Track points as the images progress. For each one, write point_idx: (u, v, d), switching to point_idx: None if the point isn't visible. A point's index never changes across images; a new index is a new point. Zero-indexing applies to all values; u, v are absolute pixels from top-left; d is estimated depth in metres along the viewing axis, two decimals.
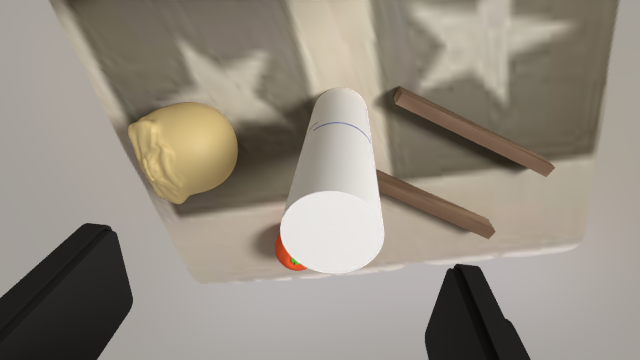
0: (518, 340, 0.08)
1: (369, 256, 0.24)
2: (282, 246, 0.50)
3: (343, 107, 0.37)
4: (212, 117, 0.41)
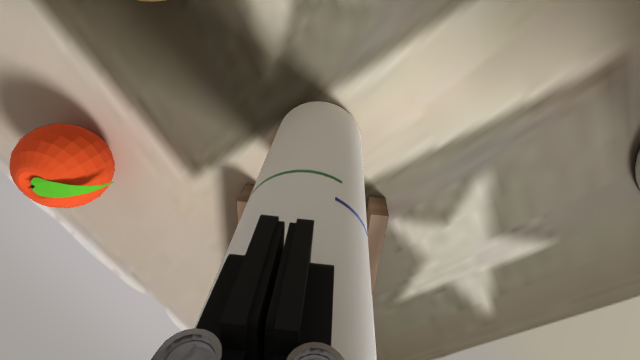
0: (333, 281, 0.09)
1: None
2: (47, 150, 0.25)
3: (363, 186, 0.22)
4: None
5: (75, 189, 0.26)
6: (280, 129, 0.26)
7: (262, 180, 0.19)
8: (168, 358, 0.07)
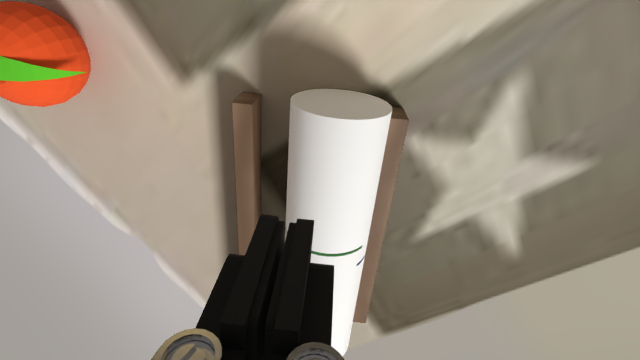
0: (333, 281, 0.09)
1: None
2: (5, 21, 0.21)
3: None
4: None
5: (39, 71, 0.22)
6: (310, 157, 0.23)
7: None
8: (168, 358, 0.07)
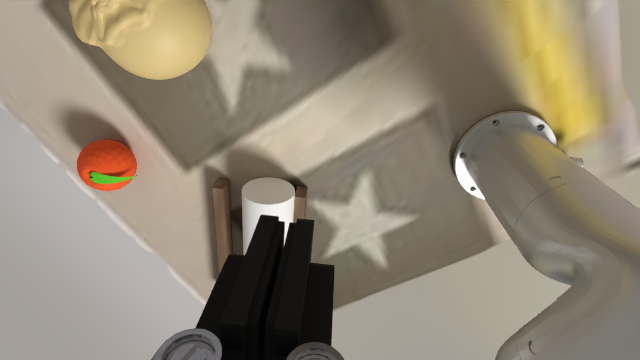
0: (333, 280, 0.09)
1: None
2: (100, 156, 0.44)
3: None
4: (205, 44, 0.37)
5: (115, 179, 0.44)
6: (250, 220, 0.46)
7: None
8: (168, 358, 0.07)
